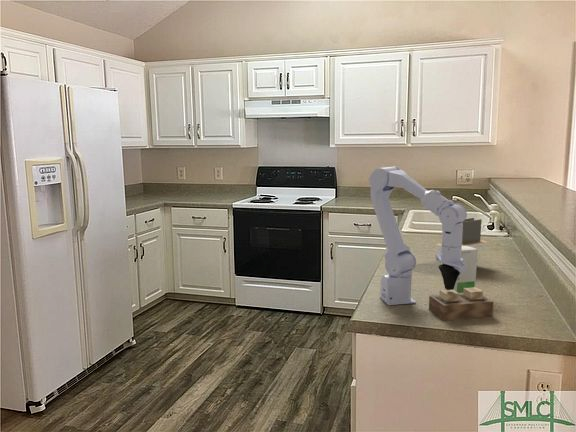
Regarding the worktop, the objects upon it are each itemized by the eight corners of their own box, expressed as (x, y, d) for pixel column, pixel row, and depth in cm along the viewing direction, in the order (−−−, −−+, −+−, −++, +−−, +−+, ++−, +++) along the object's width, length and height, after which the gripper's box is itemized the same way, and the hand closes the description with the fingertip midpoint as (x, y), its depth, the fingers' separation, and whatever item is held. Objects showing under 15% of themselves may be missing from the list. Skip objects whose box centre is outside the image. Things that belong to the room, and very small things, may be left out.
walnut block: (443, 320, 141) (444, 305, 140) (428, 309, 149) (429, 294, 148) (492, 315, 144) (493, 300, 143) (475, 305, 152) (476, 291, 151)
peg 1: (445, 307, 143) (446, 294, 142) (439, 303, 147) (439, 289, 146) (457, 306, 144) (458, 293, 143) (451, 302, 147) (451, 289, 147)
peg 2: (470, 305, 144) (470, 292, 144) (462, 301, 148) (463, 288, 147) (482, 304, 145) (482, 291, 144) (474, 300, 149) (475, 287, 148)
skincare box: (455, 295, 162) (457, 250, 159) (443, 289, 168) (445, 246, 165) (476, 293, 164) (478, 248, 161) (463, 287, 170) (466, 244, 167)
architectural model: (452, 284, 174) (455, 231, 170) (403, 268, 195) (405, 220, 192) (518, 268, 193) (522, 220, 190) (466, 255, 214) (469, 211, 211)
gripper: (477, 250, 136) (475, 296, 138) (451, 239, 150) (449, 281, 152) (455, 251, 134) (452, 297, 137) (430, 240, 148) (428, 282, 151)
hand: (449, 289), depth 144 cm, fingers closed
